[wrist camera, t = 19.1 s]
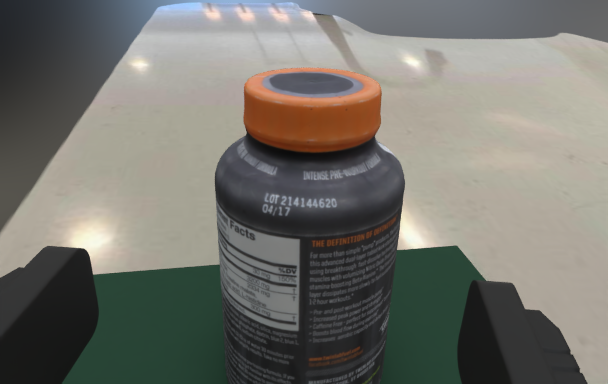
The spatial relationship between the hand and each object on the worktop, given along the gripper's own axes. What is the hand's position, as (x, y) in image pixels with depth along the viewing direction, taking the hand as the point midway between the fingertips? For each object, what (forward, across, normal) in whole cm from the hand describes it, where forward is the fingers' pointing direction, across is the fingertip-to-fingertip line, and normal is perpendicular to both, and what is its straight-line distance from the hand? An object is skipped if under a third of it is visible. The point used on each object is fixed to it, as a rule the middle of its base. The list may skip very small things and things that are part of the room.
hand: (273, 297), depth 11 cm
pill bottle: (+6, 0, +8) cm, 10 cm away
